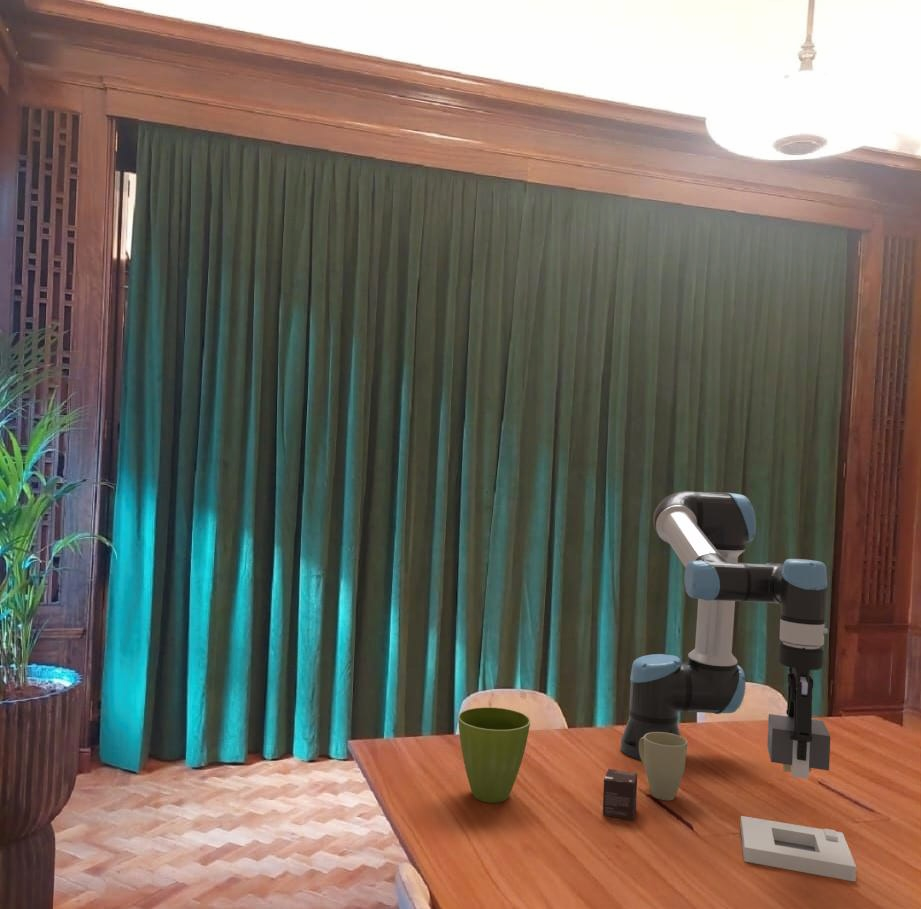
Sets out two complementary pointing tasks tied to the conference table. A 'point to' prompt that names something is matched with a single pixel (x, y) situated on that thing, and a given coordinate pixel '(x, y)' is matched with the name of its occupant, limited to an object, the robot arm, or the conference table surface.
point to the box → (620, 794)
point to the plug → (783, 746)
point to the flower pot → (492, 750)
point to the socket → (797, 848)
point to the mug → (663, 762)
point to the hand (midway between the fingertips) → (796, 767)
